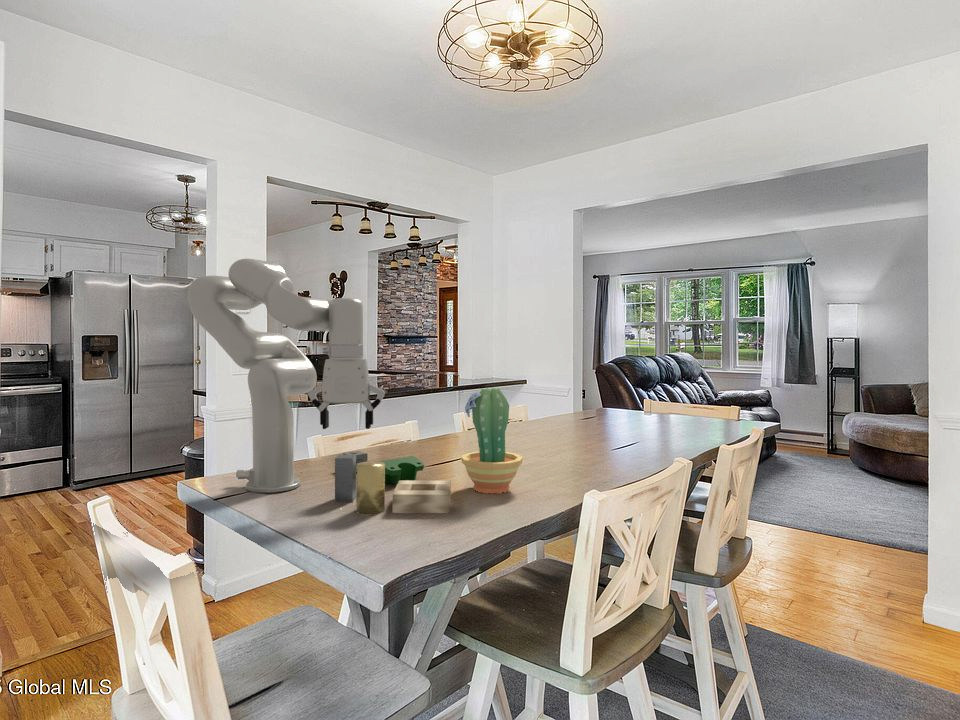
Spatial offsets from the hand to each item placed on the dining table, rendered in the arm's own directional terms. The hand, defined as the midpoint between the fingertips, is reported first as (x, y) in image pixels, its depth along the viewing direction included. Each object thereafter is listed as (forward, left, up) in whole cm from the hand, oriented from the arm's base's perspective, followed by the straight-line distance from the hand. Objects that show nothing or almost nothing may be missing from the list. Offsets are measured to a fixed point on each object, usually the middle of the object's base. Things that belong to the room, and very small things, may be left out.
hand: (347, 428), depth 131 cm
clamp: (+10, +16, -17) cm, 26 cm away
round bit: (+7, -8, -17) cm, 20 cm away
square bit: (0, 0, -17) cm, 17 cm away
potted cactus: (+34, +10, -17) cm, 39 cm away
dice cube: (-4, +29, -17) cm, 34 cm away
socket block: (+18, -4, -17) cm, 25 cm away
